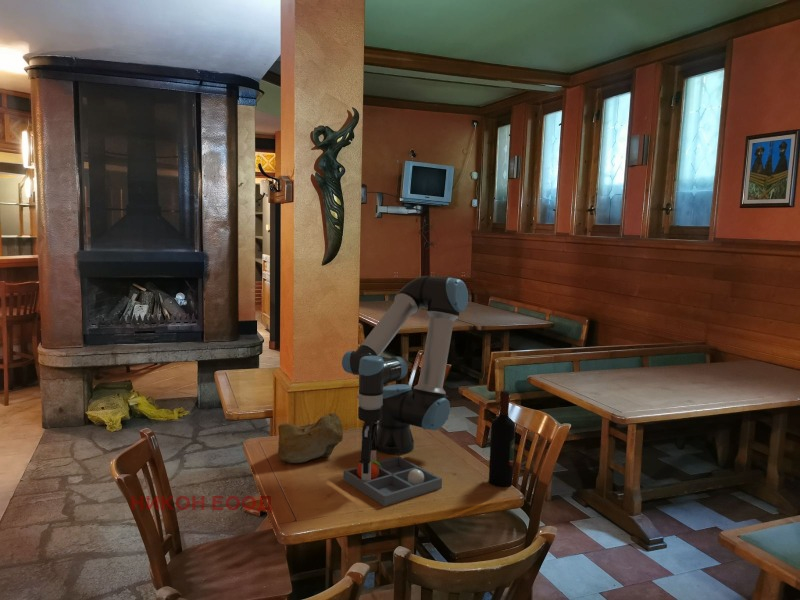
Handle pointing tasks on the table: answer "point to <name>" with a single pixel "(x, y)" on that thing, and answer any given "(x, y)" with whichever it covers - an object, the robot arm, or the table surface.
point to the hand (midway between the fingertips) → (368, 475)
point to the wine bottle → (502, 446)
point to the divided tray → (393, 482)
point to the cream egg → (415, 477)
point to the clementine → (373, 470)
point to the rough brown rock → (309, 439)
